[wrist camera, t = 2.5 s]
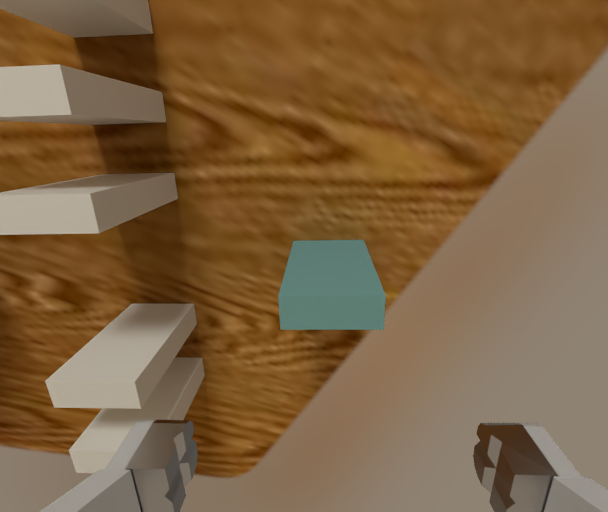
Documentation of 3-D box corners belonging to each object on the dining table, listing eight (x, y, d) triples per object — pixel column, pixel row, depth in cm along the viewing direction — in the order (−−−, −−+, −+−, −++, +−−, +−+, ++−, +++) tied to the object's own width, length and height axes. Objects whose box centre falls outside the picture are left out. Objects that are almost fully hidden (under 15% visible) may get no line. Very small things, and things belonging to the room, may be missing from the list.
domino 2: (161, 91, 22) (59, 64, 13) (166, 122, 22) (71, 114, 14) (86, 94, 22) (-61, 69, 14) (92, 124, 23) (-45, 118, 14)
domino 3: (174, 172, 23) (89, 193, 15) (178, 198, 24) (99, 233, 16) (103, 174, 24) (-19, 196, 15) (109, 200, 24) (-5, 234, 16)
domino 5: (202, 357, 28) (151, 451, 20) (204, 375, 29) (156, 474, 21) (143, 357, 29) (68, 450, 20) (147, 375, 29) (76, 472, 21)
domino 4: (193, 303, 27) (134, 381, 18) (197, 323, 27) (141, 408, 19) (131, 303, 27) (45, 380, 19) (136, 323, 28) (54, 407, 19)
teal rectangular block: (363, 239, 24) (385, 295, 16) (362, 263, 25) (383, 329, 16) (293, 240, 25) (278, 296, 16) (294, 264, 25) (280, 329, 17)
